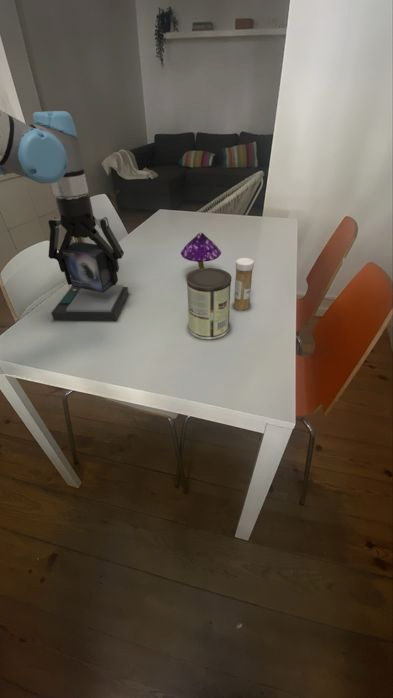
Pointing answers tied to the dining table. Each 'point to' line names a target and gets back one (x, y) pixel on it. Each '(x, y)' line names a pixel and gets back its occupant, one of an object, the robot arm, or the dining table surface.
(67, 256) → the small box
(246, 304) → the sprinkles bottle
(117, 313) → the scale
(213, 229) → the dining table surface
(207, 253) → the decorative mushroom
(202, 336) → the coffee can
